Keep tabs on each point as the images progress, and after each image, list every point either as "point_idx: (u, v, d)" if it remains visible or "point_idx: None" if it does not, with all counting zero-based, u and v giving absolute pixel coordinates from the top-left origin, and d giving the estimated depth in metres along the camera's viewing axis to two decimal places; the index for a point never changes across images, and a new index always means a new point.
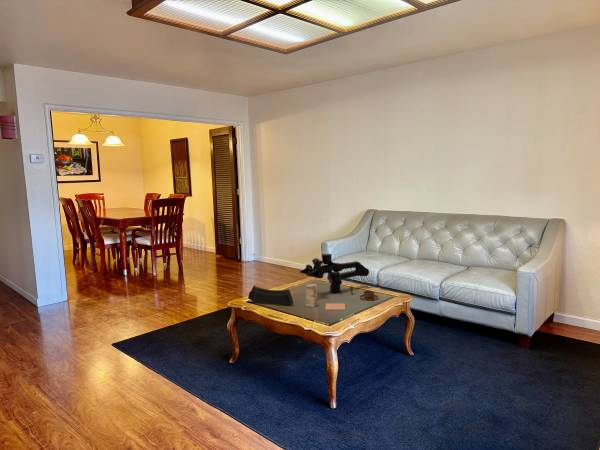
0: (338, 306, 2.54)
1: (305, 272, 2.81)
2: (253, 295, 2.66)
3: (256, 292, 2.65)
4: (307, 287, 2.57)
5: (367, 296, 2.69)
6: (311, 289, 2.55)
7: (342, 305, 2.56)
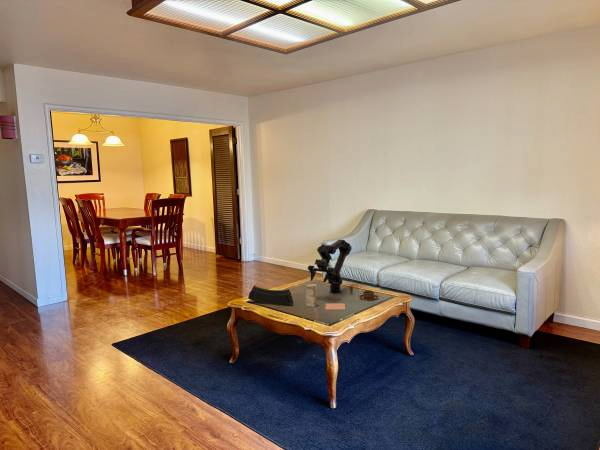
0: (338, 306, 2.54)
1: (313, 275, 2.70)
2: (253, 295, 2.66)
3: (256, 292, 2.65)
4: (307, 287, 2.57)
5: (367, 296, 2.69)
6: (311, 289, 2.55)
7: (342, 305, 2.56)
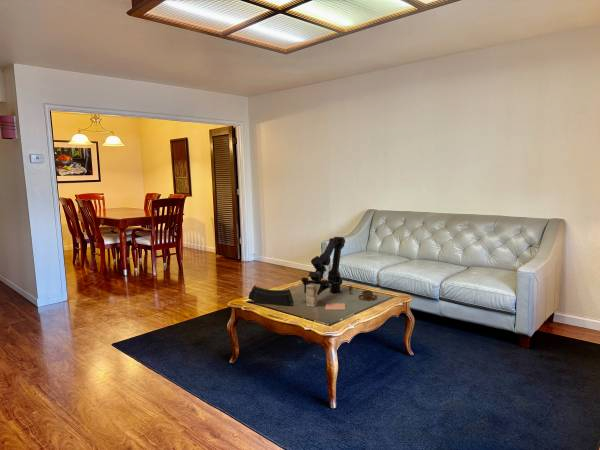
0: (338, 306, 2.54)
1: None
2: (253, 295, 2.66)
3: (256, 292, 2.65)
4: (307, 287, 2.57)
5: (365, 296, 2.69)
6: (311, 289, 2.55)
7: (342, 305, 2.56)
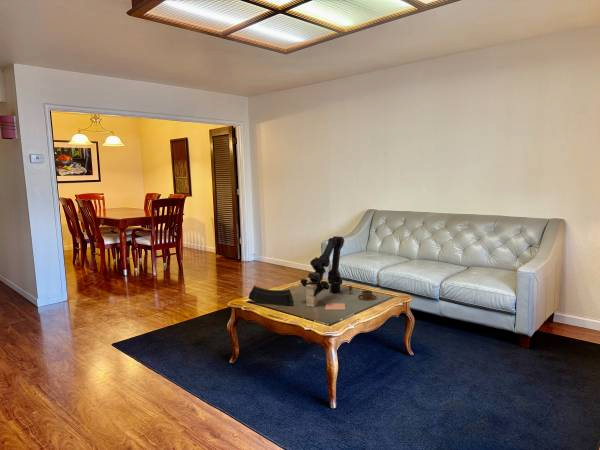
0: (338, 306, 2.54)
1: None
2: (253, 295, 2.66)
3: (256, 292, 2.65)
4: (307, 287, 2.57)
5: (365, 296, 2.69)
6: (311, 289, 2.55)
7: (342, 305, 2.56)
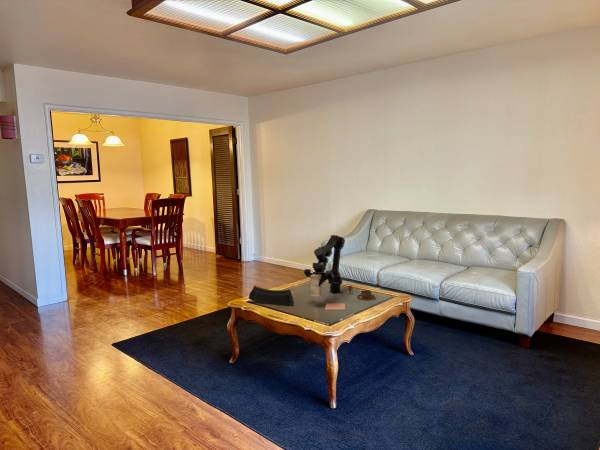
0: (338, 306, 2.54)
1: None
2: (254, 295, 2.66)
3: (257, 292, 2.65)
4: (312, 277, 2.54)
5: (364, 296, 2.70)
6: (316, 279, 2.53)
7: (342, 305, 2.56)
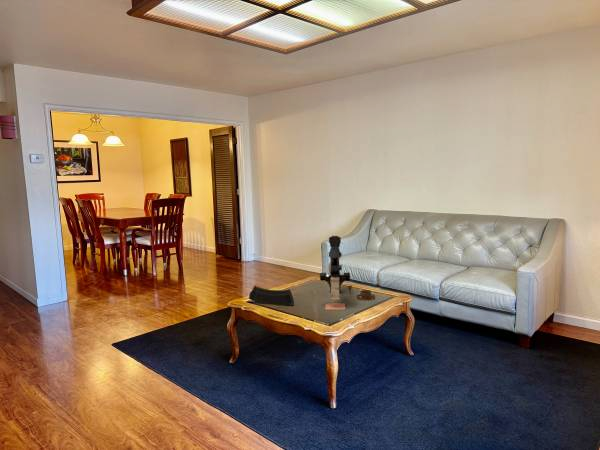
0: (338, 306, 2.54)
1: None
2: (254, 295, 2.66)
3: (257, 292, 2.65)
4: (332, 280, 2.50)
5: (363, 295, 2.70)
6: (337, 282, 2.50)
7: (342, 305, 2.56)
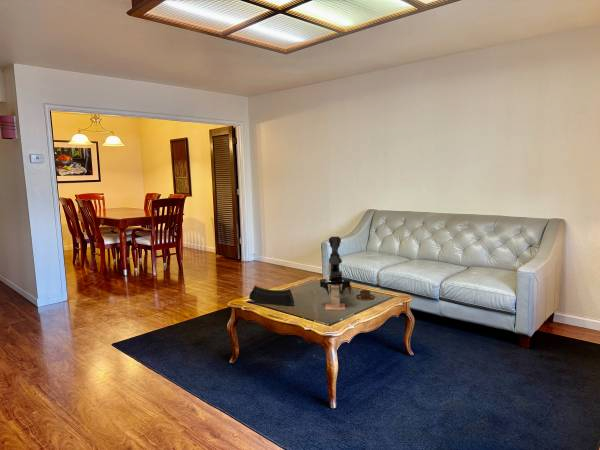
0: None
1: None
2: (254, 295, 2.66)
3: (257, 292, 2.65)
4: (332, 288, 2.51)
5: (363, 295, 2.70)
6: (337, 290, 2.51)
7: (342, 305, 2.56)
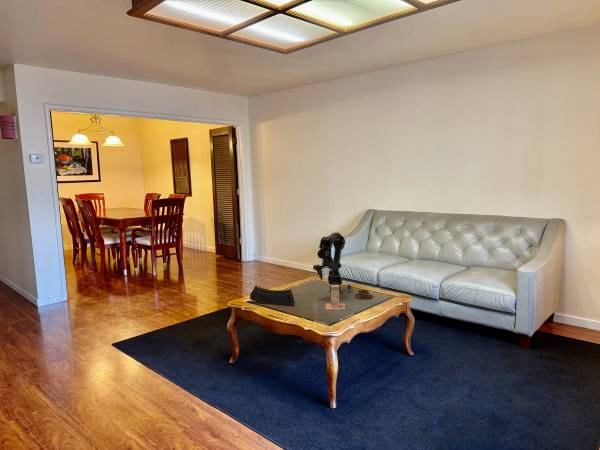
0: None
1: None
2: (255, 295, 2.66)
3: (258, 292, 2.65)
4: (332, 288, 2.51)
5: (361, 295, 2.71)
6: (337, 290, 2.51)
7: (342, 305, 2.56)
